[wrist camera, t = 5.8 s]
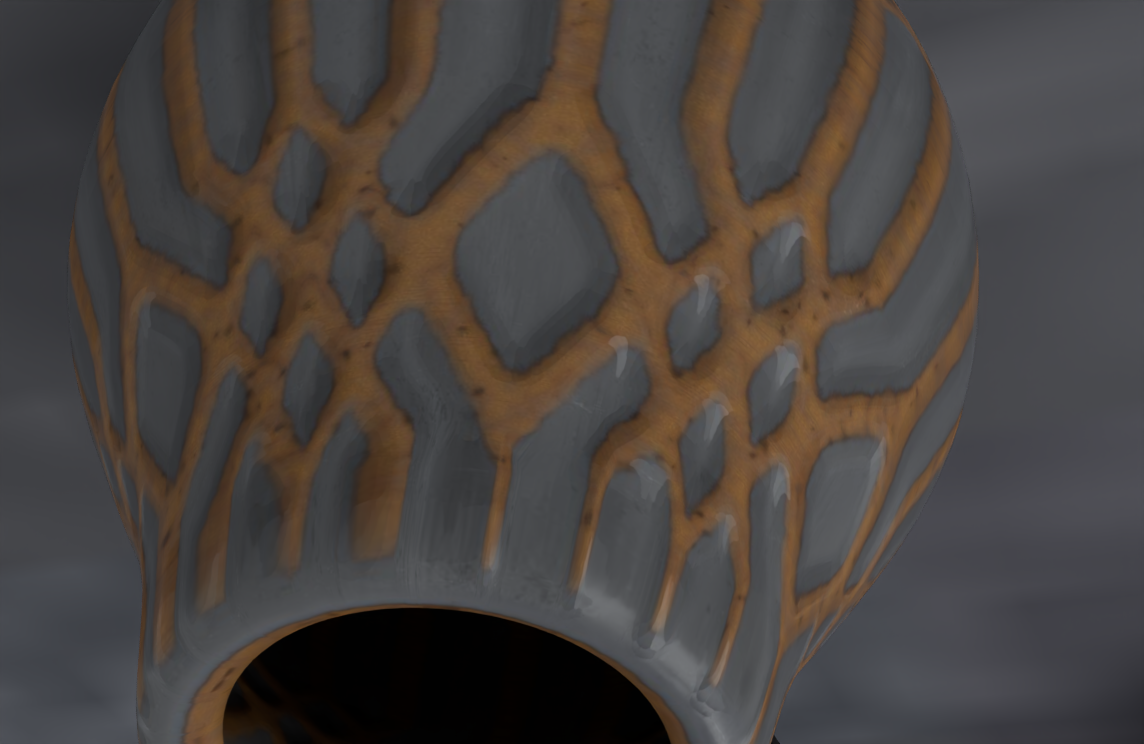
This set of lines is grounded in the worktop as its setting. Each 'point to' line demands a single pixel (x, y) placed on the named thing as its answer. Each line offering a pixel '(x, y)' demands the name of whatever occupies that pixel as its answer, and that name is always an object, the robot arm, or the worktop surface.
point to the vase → (514, 357)
